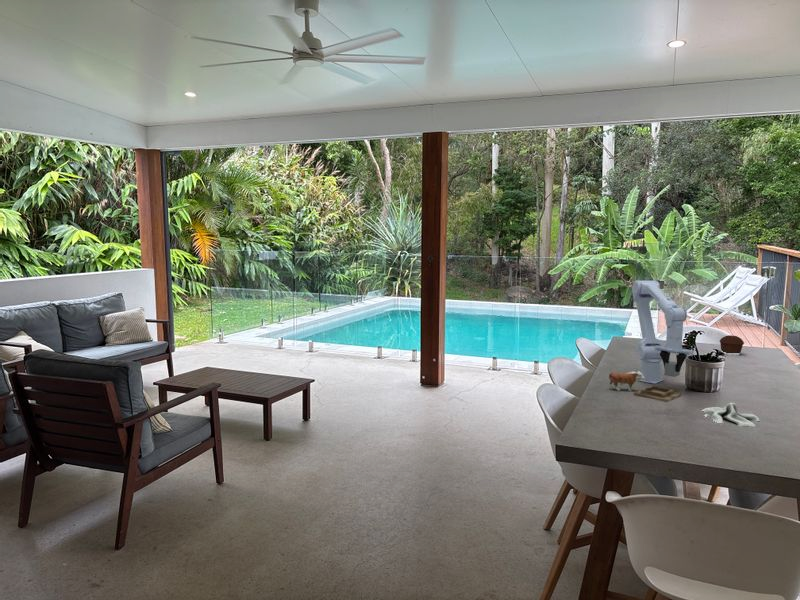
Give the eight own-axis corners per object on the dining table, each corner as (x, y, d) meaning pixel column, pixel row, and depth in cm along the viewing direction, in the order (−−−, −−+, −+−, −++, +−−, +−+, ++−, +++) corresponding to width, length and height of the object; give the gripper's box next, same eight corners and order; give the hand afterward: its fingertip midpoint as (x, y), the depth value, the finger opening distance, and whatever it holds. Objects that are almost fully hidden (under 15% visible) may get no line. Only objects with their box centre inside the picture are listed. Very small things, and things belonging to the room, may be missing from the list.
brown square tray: (647, 389, 235) (648, 384, 235) (680, 395, 226) (681, 390, 226) (633, 395, 226) (634, 389, 226) (667, 401, 217) (667, 396, 217)
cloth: (704, 408, 211) (705, 391, 211) (763, 418, 200) (765, 400, 199) (690, 422, 194) (692, 405, 193) (755, 434, 183) (756, 415, 182)
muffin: (716, 354, 310) (718, 336, 309) (720, 351, 319) (721, 333, 318) (742, 357, 303) (743, 338, 302) (745, 354, 311) (746, 335, 310)
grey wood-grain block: (669, 373, 235) (670, 361, 235) (679, 374, 232) (680, 362, 232) (664, 375, 232) (665, 363, 231) (674, 376, 229) (675, 364, 228)
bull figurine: (644, 392, 230) (645, 372, 229) (609, 390, 233) (610, 370, 232) (642, 389, 234) (643, 370, 233) (607, 388, 237) (608, 368, 236)
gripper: (651, 336, 233) (650, 369, 234) (689, 340, 223) (687, 375, 224) (659, 334, 238) (657, 366, 239) (696, 338, 227) (694, 372, 229)
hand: (672, 370), depth 232 cm, fingers closed on grey wood-grain block, 4 cm apart
